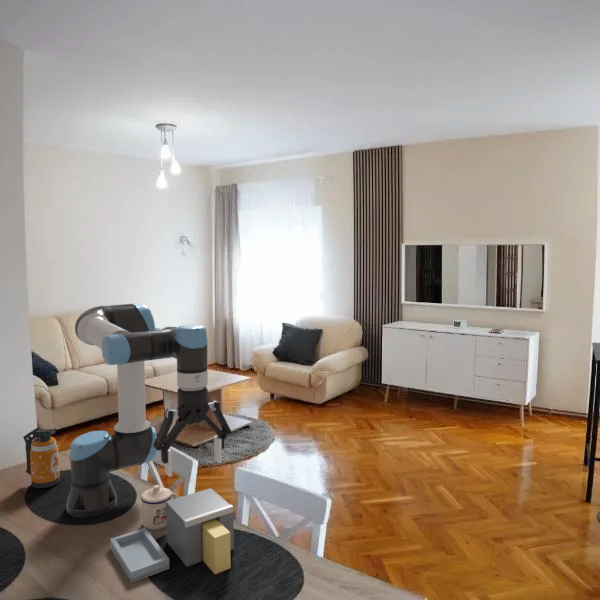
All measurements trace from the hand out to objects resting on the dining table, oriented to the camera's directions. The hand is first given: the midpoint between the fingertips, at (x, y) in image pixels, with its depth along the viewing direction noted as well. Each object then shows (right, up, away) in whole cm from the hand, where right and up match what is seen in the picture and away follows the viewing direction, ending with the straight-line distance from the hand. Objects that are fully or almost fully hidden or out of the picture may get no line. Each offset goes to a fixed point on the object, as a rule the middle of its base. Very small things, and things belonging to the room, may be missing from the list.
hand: (194, 467), depth 134 cm
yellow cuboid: (+4, -27, +8) cm, 28 cm away
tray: (-16, -27, +8) cm, 33 cm away
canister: (-63, -22, +50) cm, 84 cm away
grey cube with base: (-1, -26, +14) cm, 30 cm away
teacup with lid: (-16, -25, +27) cm, 40 cm away
